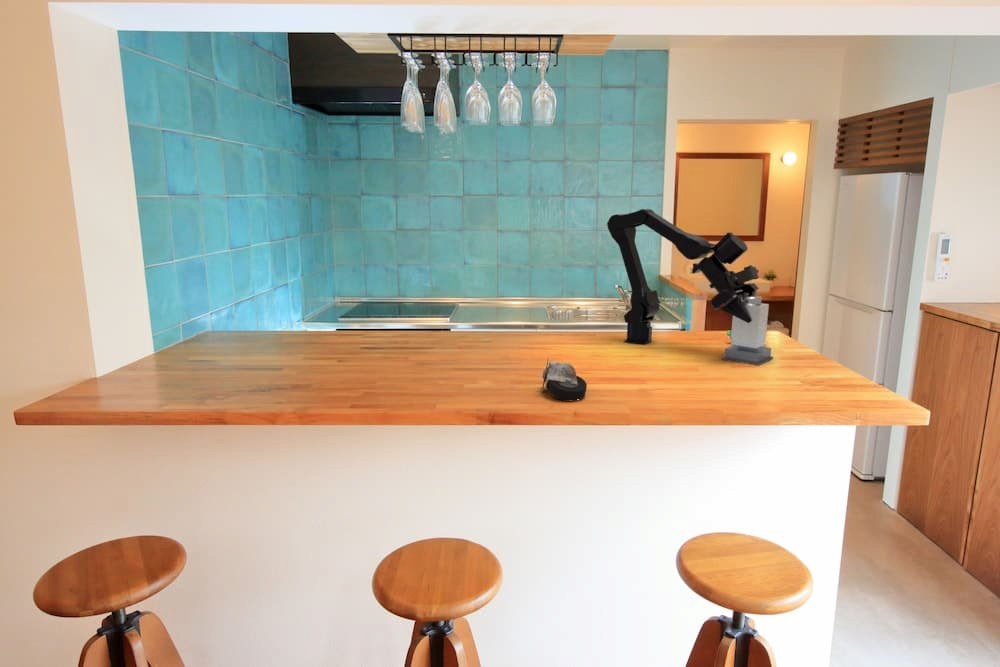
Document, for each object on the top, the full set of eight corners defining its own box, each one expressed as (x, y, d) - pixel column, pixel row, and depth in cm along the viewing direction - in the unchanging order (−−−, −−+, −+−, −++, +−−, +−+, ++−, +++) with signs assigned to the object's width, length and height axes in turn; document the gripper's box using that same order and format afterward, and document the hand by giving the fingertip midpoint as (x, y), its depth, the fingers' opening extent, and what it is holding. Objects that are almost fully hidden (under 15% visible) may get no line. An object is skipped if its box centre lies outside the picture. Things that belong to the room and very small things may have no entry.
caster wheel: (582, 412, 138) (536, 404, 139) (585, 387, 148) (542, 379, 149) (587, 385, 135) (540, 377, 136) (590, 362, 145) (546, 354, 146)
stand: (721, 359, 173) (722, 348, 172) (736, 353, 180) (737, 342, 180) (758, 365, 166) (759, 354, 166) (773, 358, 174) (773, 347, 173)
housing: (730, 344, 173) (734, 296, 170) (739, 340, 177) (743, 294, 174) (756, 348, 168) (760, 299, 165) (765, 344, 172) (769, 296, 170)
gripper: (725, 258, 164) (765, 305, 159) (754, 253, 177) (791, 297, 172) (694, 285, 170) (731, 332, 165) (724, 279, 184) (759, 322, 179)
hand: (754, 320), depth 170 cm, fingers closed on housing, 6 cm apart
